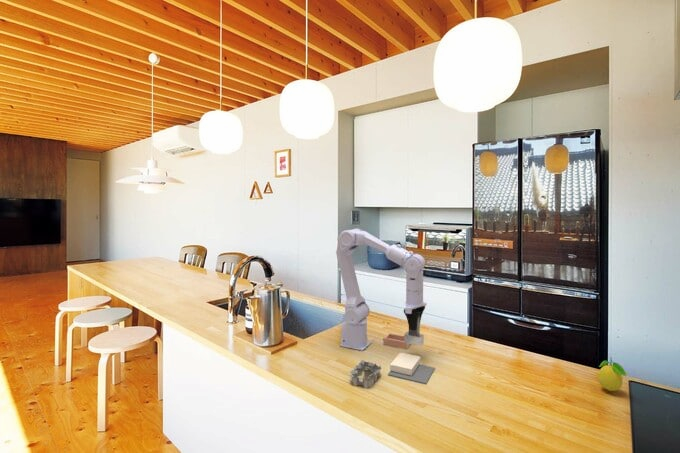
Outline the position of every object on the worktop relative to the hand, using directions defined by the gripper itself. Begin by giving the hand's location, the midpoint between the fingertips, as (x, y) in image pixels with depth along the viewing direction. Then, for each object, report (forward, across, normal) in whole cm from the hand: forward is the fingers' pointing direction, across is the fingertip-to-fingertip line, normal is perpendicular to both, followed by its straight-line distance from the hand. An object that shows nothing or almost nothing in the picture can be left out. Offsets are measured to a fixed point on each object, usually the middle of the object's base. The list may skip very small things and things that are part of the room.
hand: (414, 328), depth 123 cm
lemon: (+10, +4, -56) cm, 57 cm away
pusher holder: (+10, +8, +9) cm, 16 cm away
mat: (+10, -11, -3) cm, 15 cm away
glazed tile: (+9, -4, 0) cm, 10 cm away
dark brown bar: (+5, 0, 0) cm, 5 cm away
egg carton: (+11, -22, +9) cm, 26 cm away
